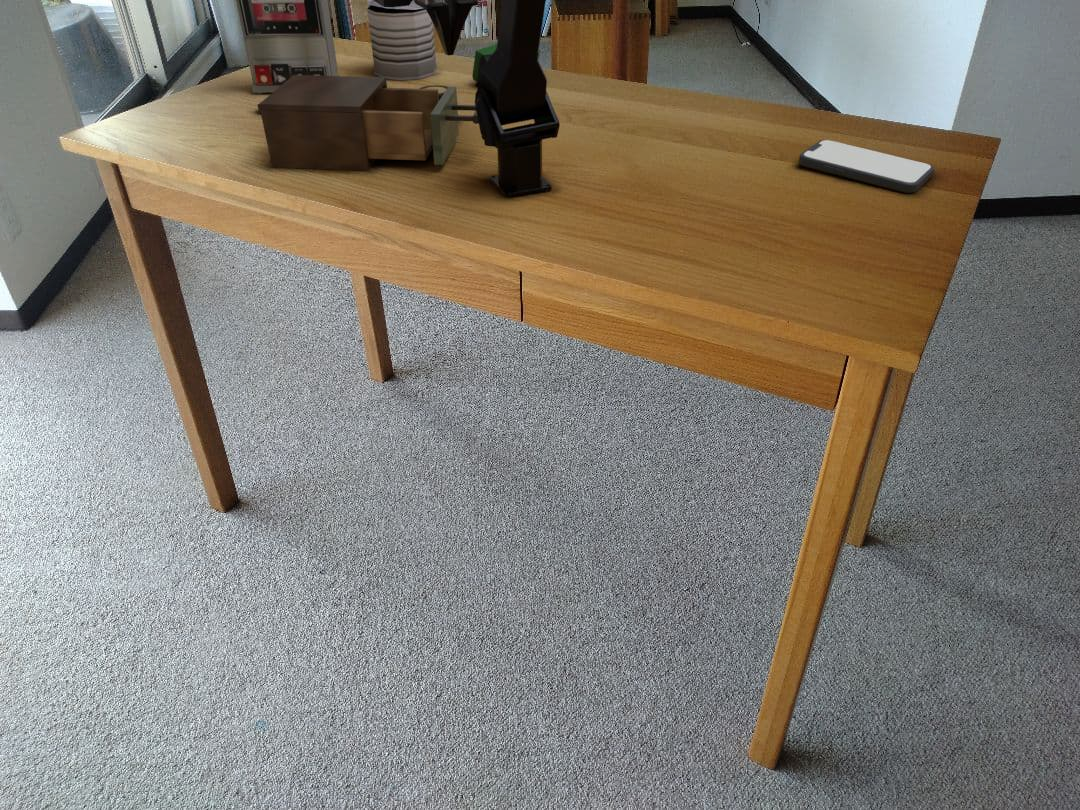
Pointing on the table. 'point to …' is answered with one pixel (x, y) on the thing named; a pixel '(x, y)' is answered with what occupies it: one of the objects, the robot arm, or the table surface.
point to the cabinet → (319, 122)
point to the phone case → (867, 166)
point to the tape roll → (440, 88)
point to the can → (401, 41)
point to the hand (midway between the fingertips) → (449, 54)
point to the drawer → (413, 123)
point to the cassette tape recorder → (286, 40)
